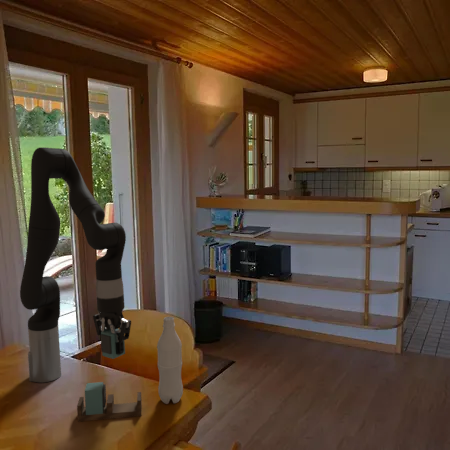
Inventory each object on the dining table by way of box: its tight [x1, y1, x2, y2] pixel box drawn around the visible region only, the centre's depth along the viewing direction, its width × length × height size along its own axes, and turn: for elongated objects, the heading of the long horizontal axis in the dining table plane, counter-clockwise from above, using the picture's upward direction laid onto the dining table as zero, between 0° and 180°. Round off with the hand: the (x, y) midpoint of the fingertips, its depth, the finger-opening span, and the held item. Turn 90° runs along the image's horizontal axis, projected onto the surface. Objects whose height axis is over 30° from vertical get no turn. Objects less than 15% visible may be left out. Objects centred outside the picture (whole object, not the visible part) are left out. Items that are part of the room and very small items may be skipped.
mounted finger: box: [84, 381, 107, 415], centre depth 131 cm, size 5×4×7 cm
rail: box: [76, 391, 143, 422], centre depth 132 cm, size 17×5×4 cm, turn 99°
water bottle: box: [156, 316, 184, 405], centre depth 138 cm, size 7×7×25 cm
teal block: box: [99, 328, 126, 360], centre depth 135 cm, size 5×4×7 cm
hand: (113, 351), depth 136 cm, fingers closed on teal block, 4 cm apart
